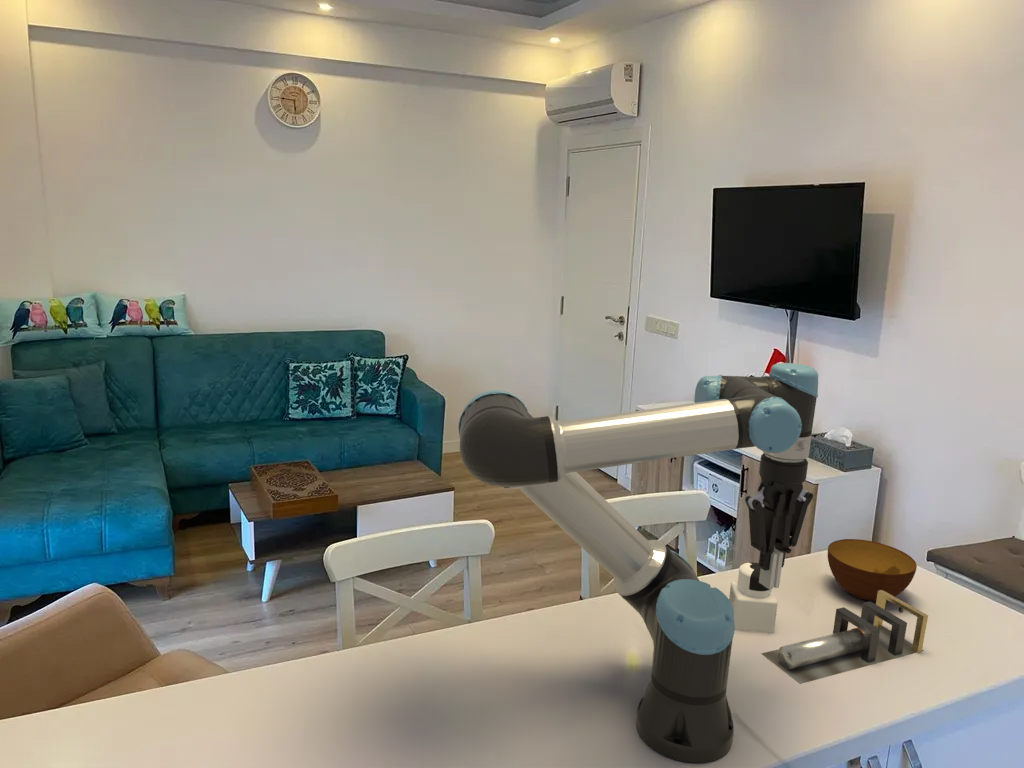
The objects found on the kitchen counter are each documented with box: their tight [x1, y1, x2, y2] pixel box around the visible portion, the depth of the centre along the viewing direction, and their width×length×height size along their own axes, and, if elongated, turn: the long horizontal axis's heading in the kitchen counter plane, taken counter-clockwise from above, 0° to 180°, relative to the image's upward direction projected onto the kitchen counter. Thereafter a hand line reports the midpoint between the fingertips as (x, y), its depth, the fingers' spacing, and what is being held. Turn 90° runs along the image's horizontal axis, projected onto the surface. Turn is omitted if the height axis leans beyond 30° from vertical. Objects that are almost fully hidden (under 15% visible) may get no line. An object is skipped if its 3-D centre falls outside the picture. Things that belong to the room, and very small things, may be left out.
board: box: [760, 625, 924, 685], centre depth 142 cm, size 31×10×1 cm, turn 113°
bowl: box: [827, 538, 918, 602], centre depth 164 cm, size 18×18×10 cm
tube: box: [777, 627, 865, 669], centre depth 139 cm, size 20×4×4 cm, turn 113°
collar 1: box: [832, 607, 880, 663], centre depth 142 cm, size 2×8×6 cm, turn 23°
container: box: [728, 562, 778, 634], centre depth 150 cm, size 8×8×13 cm
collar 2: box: [860, 601, 908, 656], centre depth 145 cm, size 2×8×6 cm, turn 23°
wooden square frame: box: [873, 590, 929, 654], centre depth 146 cm, size 1×10×8 cm, turn 23°
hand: (768, 584), depth 130 cm, fingers closed
